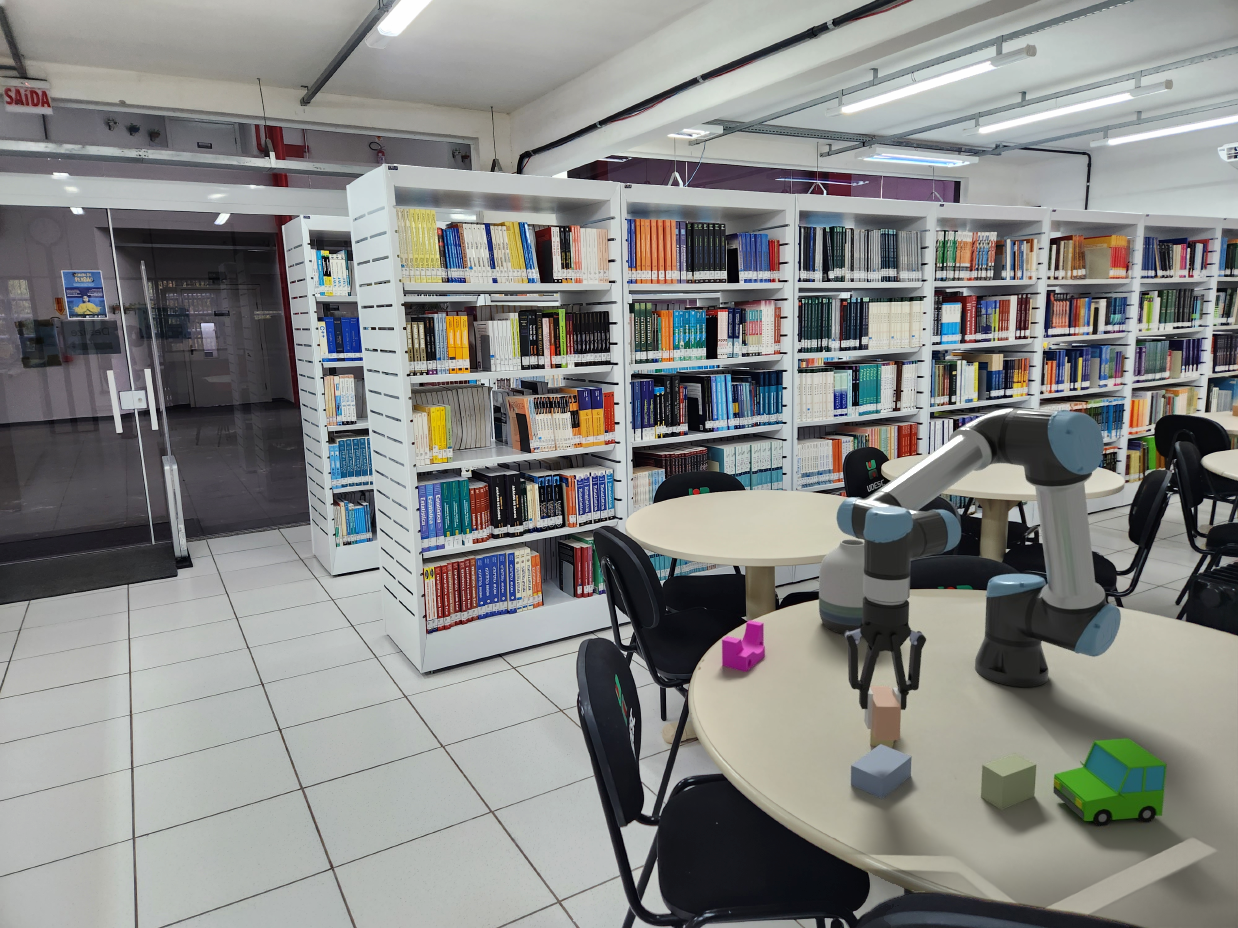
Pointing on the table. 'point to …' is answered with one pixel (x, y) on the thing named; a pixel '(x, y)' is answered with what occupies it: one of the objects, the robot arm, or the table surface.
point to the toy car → (1114, 783)
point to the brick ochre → (880, 741)
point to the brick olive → (1008, 780)
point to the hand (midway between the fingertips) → (881, 725)
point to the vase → (842, 586)
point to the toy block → (744, 648)
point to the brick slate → (881, 771)
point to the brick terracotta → (885, 714)
